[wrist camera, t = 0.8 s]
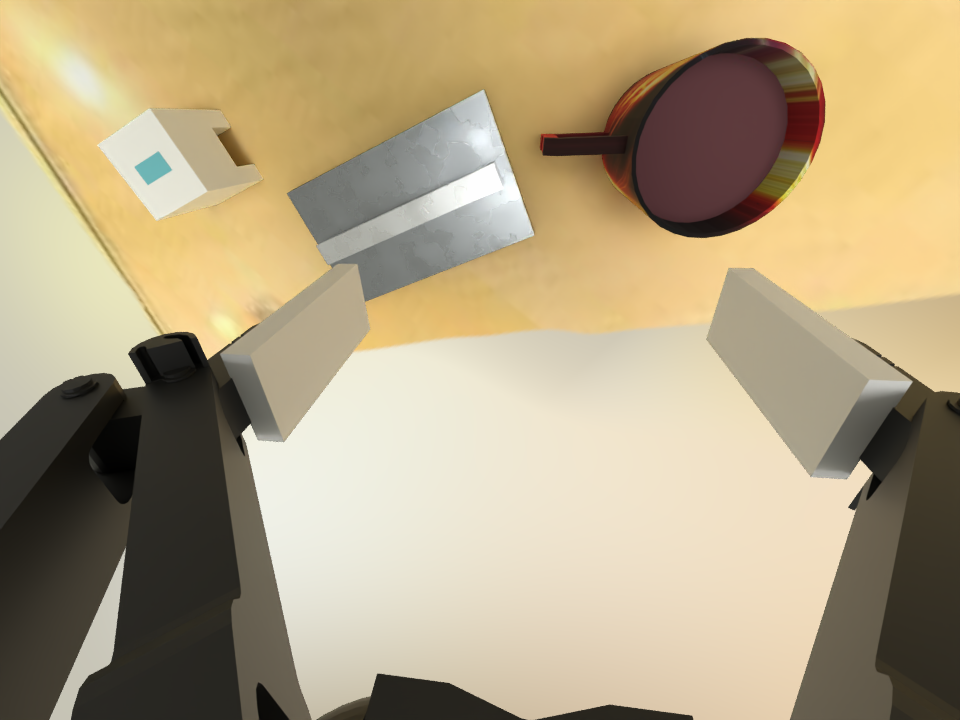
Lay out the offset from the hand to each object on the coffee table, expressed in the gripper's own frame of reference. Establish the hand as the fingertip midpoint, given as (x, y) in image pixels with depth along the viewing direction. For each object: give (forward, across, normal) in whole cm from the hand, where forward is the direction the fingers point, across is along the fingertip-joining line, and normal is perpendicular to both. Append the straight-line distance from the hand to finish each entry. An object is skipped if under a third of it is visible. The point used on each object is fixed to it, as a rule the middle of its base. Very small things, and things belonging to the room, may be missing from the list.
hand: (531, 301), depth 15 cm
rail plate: (+24, -11, -2) cm, 27 cm away
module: (+24, -29, +3) cm, 38 cm away
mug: (+24, +8, +3) cm, 26 cm away
